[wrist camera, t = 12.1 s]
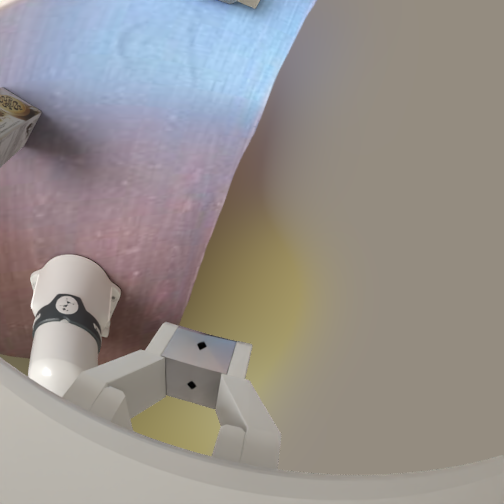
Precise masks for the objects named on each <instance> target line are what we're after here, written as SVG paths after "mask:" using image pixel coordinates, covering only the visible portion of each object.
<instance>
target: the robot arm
mask: <svg viewBox="0 0 504 504" xmlns="http://www.w3.org/2000/svg"><path fill="white" fill-rule="evenodd" d="M30 280H31V284H32V287H33V291H34V293H33V298H32V302H31V309H33V313H34V315H35V317H36V318H35V320H34V324H33V339H34V340H33V345H32V351H31V357H30V363H29V370H28V377H27V376H26V375H24V374H23V373H22V372H20V371H18V370H17V369H16V368H14V367H13V366H11V365H10V364H9V363H7V362H6V361H4V360H3V359H2V358H0V504H504V455H501V456H497V457H494V458H490V459H486V460H483V461H478V462H474V463H469V464H465V465H460V466H455V467H449V468H443V469H436V470H429V471H421V472H412V473H402V474H401V473H400V474H383V475H333V474H315V473H304V472H294V471H286V470H278V460H279V452H280V442H281V433H280V431H279V430H278V428H277V427H276V425H275V423H274V422H273V420H272V418H271V416H270V415H269V413H268V411H267V410H266V408H265V406H264V405H263V403H262V401H261V399H260V398H259V396H258V394H257V393H256V391H255V389H254V387H253V386H252V384H251V382H250V381H249V380H247V379H245V377H246V372H247V368H248V363H249V359H250V355H251V351H252V344H249V343H244V342H240V341H234V340H229V339H225V338H221V337H217V336H213V335H209V334H205V333H202V332H199V331H195V330H192V329H189V328H185V327H182V326H178V325H175V324H171V323H168V322H165V323H163V324H162V326H161V327H160V329H159V330H158V332H157V333H156V335H155V336H154V338H153V339H152V341H151V342H150V344H149V345H148V347H147V348H146V350H145V351H144V350H138V351H136V352H133V353H131V354H128V355H126V356H123V357H120V358H118V359H115V360H113V361H110V362H107V363H105V364H102V365H99V366H98V354H99V352H100V347H101V341H102V338H101V337H108V334H109V327H110V318H111V316H112V314H113V311H114V309H115V307H116V305H117V302H118V300H119V298H120V296H121V290H120V288H119V287H118V286H116V285H115V284H114V283H112V282H111V281H110V280H109V278H108V276H107V275H106V273H105V272H104V271H103V269H102V268H101V267H100V266H99V265H97V264H96V263H95V262H93V261H91V260H89V259H87V258H85V257H82V256H78V255H61V256H57V257H55V258H53V259H51V260H50V261H49V262H47V263H46V265H45V266H44V267H43V268H42V269H40V270H38V271H35V272H33V273H32V274H31V278H30ZM166 395H168V396H171V397H175V398H178V399H182V400H185V401H189V402H192V403H196V404H199V405H202V406H206V407H209V408H212V409H216V410H215V411H216V414H217V416H218V419H219V422H220V425H221V428H220V431H219V434H218V437H217V441H216V444H215V447H214V451H213V454H212V457H211V456H207V455H203V454H200V453H196V452H192V451H189V450H186V449H182V448H179V447H176V446H173V445H170V444H167V443H164V442H161V441H158V440H155V439H152V438H149V437H146V436H144V435H141V434H139V433H136V432H134V431H133V429H132V425H131V421H130V419H131V418H133V417H134V416H136V415H137V414H139V413H141V412H142V411H144V410H145V409H147V408H149V407H150V406H152V405H153V404H155V403H156V402H158V401H160V400H161V399H163V398H164V397H166Z"/></svg>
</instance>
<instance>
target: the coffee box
mask: <svg viewBox="0 0 504 504" xmlns="http://www.w3.org/2000/svg"><path fill="white" fill-rule="evenodd" d="M40 115H41V111H40V110H38V109H37V108H35V107H34V106H32V105H30V104H29V103H27V102H25V101H24V100H22V99H21V98H19V97H17V96H16V95H14V94H13V93H11V92H9V91H8V90H6V89H4V88H3V87H1V88H0V167H1V166H2V165H3V164H5V163H6V162H7V161H8V160H9V159H10V158H11V157H12V156H13V155H14V154H16V153H17V152H18V151H19V150H20V149H21V148H23V147H24V145H25V143H26V141H27V139H28V137H29V135H30V134H31V132H32V130H33V128H34V126H35V124H36V122H37V120H38V118H39V117H40Z"/></svg>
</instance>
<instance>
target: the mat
mask: <svg viewBox="0 0 504 504" xmlns="http://www.w3.org/2000/svg"><path fill="white" fill-rule="evenodd" d="M237 1H238V2H240V3H242V4H245V5H247V6H249V7H251V8H254V9H255V8H256V7H257V5H258V3H259V1H260V0H237Z"/></svg>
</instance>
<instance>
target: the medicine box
mask: <svg viewBox="0 0 504 504" xmlns="http://www.w3.org/2000/svg"><path fill="white" fill-rule="evenodd" d="M219 1H222V2H225V3H228V4H231V3H234V2H236V1H237V0H219Z"/></svg>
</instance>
